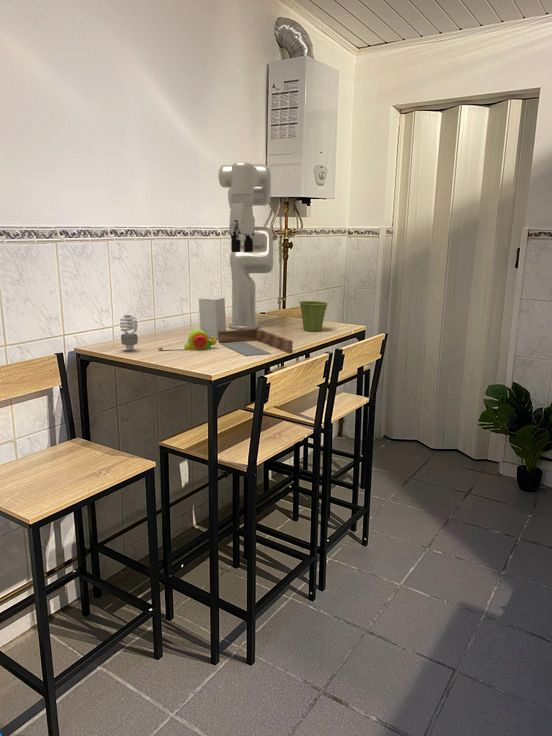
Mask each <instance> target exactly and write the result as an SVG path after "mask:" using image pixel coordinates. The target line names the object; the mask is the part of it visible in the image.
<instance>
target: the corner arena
mask: <svg viewBox="0 0 552 736" xmlns="http://www.w3.org/2000/svg"><path fill="white" fill-rule="evenodd" d="M217 340H218V343H219V344H224V343H236V342H252V341H253V342H254V341H256V342H260V343H262V344H265V345H267V346H268V347H272V348H274V349H278V350H279V349H280V350H279V351H282V352H284V353H287V354H293V348H294V347H293V344H294V343H293V340H291V339H288V338H286V337H283V336H281V335H280V336H279V335H277V334H275V333H271V332H269V331H266V330H264V329H263V330H262V329H260V328H255V329H233V330H232V329H231V330H226V331H218V339H217Z"/></svg>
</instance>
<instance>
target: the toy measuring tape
mask: <svg viewBox="0 0 552 736" xmlns="http://www.w3.org/2000/svg"><path fill="white" fill-rule="evenodd" d="M216 344H217V339H215V338H214V337H213V336H211V338H209V337H208V335H207V334H206V333H205V332H204V331H202V330H200V329H194V330H193V331H191V332H190V333H189V335H188V338H187V342H186V343H185V344H184V347H177V348H172V349H165V351H178V350H179V351H180V350H181V351H183V350H185V351H201V350H212V349H213V347H212V346H215V345H216ZM158 350H159V352H162V351H164V347H162V346H161V345H160V346H158Z"/></svg>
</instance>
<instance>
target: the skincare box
mask: <svg viewBox="0 0 552 736" xmlns="http://www.w3.org/2000/svg"><path fill="white" fill-rule="evenodd" d="M225 301H226V300H225V297H218V296H217V297H216V296H215V297H214V296H213V297H212V296H206V297H201V298H200V297H199V298H198V310H199V325H200V327H199V328H200V329H199V330H202V331H204V332H205V333H206V334H207V335H208V337H209V339H211V336H213V337H214V338H215V339H216V340H218V331H227V320H226V319H227V317H226V316H227V315H226V302H225Z"/></svg>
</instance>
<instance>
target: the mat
mask: <svg viewBox="0 0 552 736" xmlns="http://www.w3.org/2000/svg"><path fill="white" fill-rule="evenodd" d="M220 345H222V346H224V347H226V348H227V349H230V350H232V351H234V352H236V353H238V354H241V355H243V356H244V357H250V356H251V357H252V356H260V355H261V356H262V355H270V354H272V353H271V352H269V351H266V350H264V349H262V348H260V347H257V346H255V345H253V344H251V343H247V341H242V342H230V343H220Z"/></svg>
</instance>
